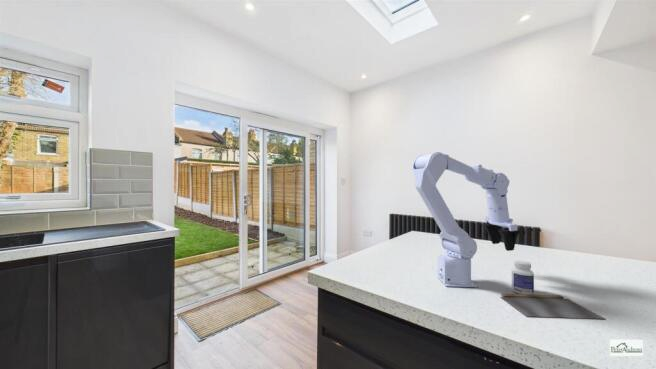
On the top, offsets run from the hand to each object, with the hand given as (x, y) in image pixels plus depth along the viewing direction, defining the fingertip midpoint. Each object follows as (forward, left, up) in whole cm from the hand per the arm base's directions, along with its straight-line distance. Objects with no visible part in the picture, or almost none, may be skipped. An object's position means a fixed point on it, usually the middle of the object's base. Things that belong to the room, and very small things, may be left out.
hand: (502, 246), depth 85 cm
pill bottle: (-1, -11, -11) cm, 15 cm away
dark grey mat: (-1, -20, -11) cm, 22 cm away
